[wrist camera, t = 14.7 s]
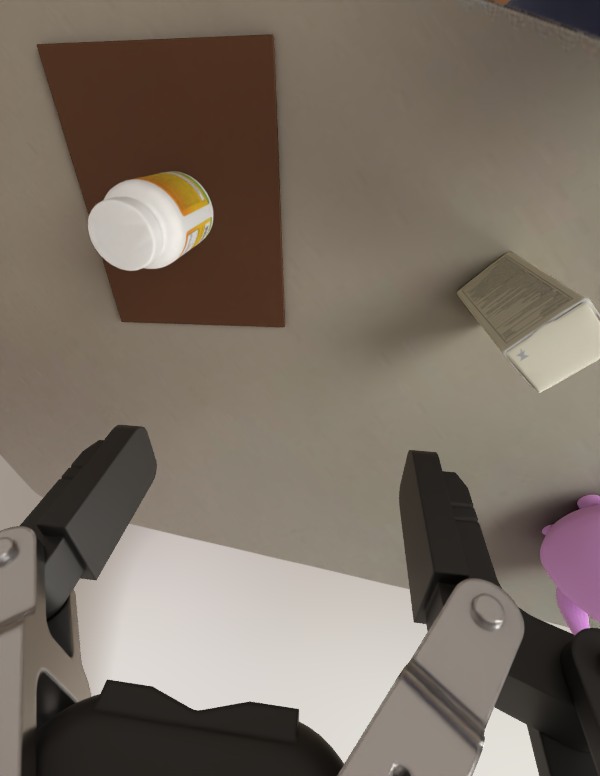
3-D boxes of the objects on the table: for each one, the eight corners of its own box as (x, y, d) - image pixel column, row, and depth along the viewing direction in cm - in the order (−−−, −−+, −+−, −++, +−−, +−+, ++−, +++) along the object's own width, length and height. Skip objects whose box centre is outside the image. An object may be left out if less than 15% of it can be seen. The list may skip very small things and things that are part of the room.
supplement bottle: (140, 171, 28) (59, 186, 20) (208, 169, 28) (152, 183, 20) (158, 245, 31) (93, 282, 23) (219, 244, 31) (175, 282, 23)
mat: (41, 45, 25) (36, 43, 25) (274, 36, 24) (272, 34, 23) (124, 319, 36) (121, 322, 36) (285, 325, 35) (284, 327, 34)
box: (481, 325, 33) (533, 398, 24) (453, 291, 31) (497, 355, 22) (541, 285, 30) (623, 349, 21) (513, 246, 29) (589, 296, 20)
